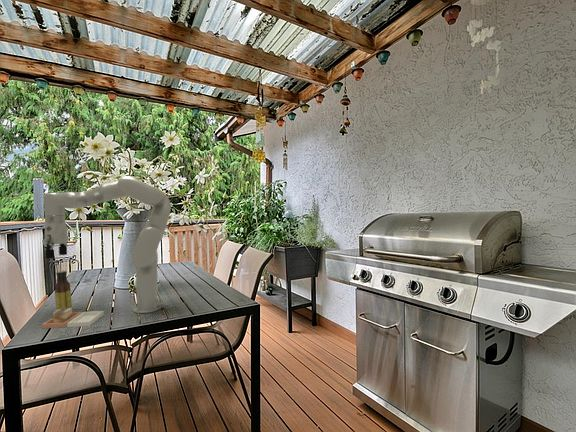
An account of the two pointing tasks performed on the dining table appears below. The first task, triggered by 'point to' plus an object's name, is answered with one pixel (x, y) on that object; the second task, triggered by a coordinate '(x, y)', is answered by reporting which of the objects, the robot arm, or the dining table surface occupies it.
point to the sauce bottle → (62, 291)
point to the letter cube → (62, 315)
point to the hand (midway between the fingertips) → (56, 256)
